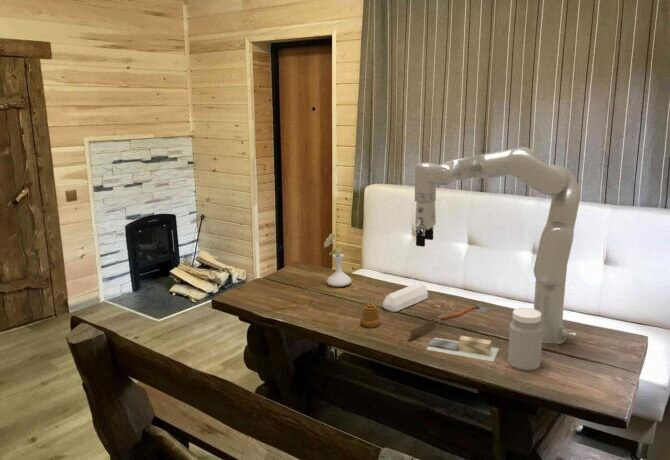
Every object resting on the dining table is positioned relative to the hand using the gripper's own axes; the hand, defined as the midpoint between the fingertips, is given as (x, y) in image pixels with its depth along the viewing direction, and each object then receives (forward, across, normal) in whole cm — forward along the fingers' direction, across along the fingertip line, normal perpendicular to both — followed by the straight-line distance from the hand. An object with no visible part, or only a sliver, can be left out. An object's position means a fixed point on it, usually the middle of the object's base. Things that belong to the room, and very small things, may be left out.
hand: (424, 242), depth 206 cm
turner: (+29, -21, -19) cm, 41 cm away
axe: (+31, +11, -14) cm, 36 cm away
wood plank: (+31, -15, -4) cm, 34 cm away
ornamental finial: (+31, -12, +17) cm, 37 cm away
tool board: (+30, -21, -20) cm, 42 cm away
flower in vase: (+31, +23, +48) cm, 61 cm away
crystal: (+31, +13, +12) cm, 36 cm away
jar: (+31, -23, -40) cm, 55 cm away
